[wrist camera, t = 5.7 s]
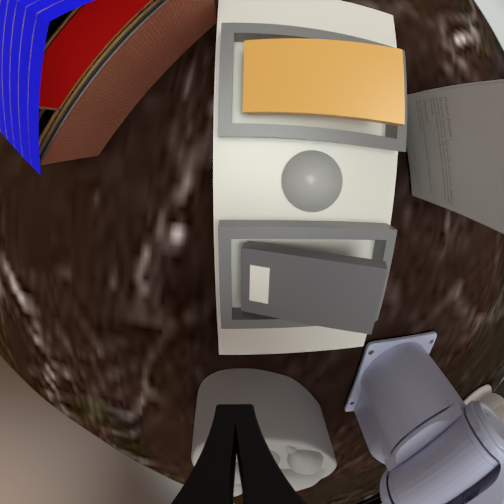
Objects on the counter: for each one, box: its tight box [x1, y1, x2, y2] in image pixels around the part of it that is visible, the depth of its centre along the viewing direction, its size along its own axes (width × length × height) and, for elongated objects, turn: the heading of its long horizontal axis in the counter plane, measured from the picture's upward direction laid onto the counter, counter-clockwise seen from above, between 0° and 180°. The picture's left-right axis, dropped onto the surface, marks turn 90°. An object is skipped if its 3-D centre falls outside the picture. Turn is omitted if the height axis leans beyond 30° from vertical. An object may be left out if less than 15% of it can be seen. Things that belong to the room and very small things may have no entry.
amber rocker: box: [242, 38, 405, 126], centre depth 10 cm, size 4×7×1 cm, turn 89°
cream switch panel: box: [213, 0, 407, 355], centre depth 15 cm, size 22×10×4 cm, turn 179°
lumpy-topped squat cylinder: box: [191, 368, 337, 496], centre depth 20 cm, size 10×13×9 cm
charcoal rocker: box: [241, 242, 387, 334], centre depth 14 cm, size 4×7×1 cm, turn 89°
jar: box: [463, 385, 504, 424], centre depth 23 cm, size 11×10×15 cm
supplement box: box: [406, 79, 504, 234], centre depth 10 cm, size 7×7×13 cm
